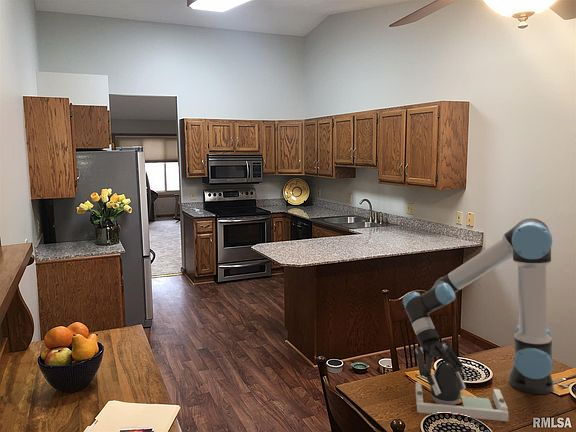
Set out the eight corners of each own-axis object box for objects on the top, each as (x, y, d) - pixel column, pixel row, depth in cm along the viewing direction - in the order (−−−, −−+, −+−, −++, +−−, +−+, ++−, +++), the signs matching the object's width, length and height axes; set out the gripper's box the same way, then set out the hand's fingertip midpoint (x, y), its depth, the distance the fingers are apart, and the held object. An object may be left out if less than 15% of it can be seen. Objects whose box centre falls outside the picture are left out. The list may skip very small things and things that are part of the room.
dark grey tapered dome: (457, 414, 157) (458, 371, 155) (426, 406, 162) (427, 365, 161) (463, 400, 166) (464, 360, 164) (434, 393, 171) (435, 354, 169)
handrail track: (499, 399, 166) (499, 387, 165) (508, 421, 152) (508, 408, 151) (415, 392, 172) (415, 380, 172) (417, 412, 159) (417, 399, 158)
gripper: (446, 332, 179) (472, 390, 166) (395, 340, 173) (418, 400, 160) (455, 324, 174) (483, 382, 161) (403, 331, 167) (427, 393, 154)
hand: (451, 391), depth 160 cm, fingers closed on dark grey tapered dome, 9 cm apart
